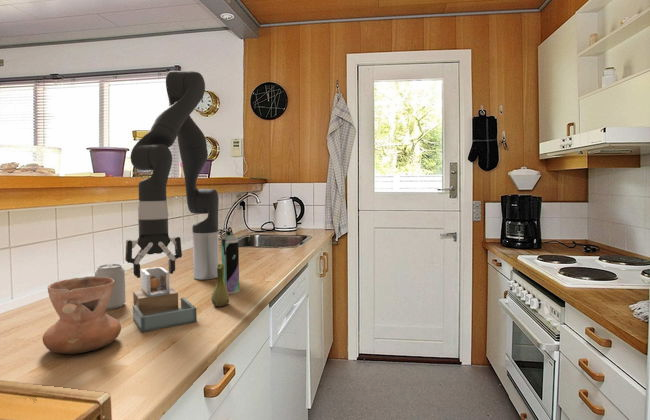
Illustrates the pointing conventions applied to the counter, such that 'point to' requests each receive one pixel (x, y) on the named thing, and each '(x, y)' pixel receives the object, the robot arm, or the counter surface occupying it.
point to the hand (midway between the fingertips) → (154, 275)
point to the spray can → (230, 262)
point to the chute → (160, 275)
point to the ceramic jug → (81, 315)
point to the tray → (165, 317)
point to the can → (119, 285)
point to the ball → (154, 283)
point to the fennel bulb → (220, 289)
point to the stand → (155, 301)
